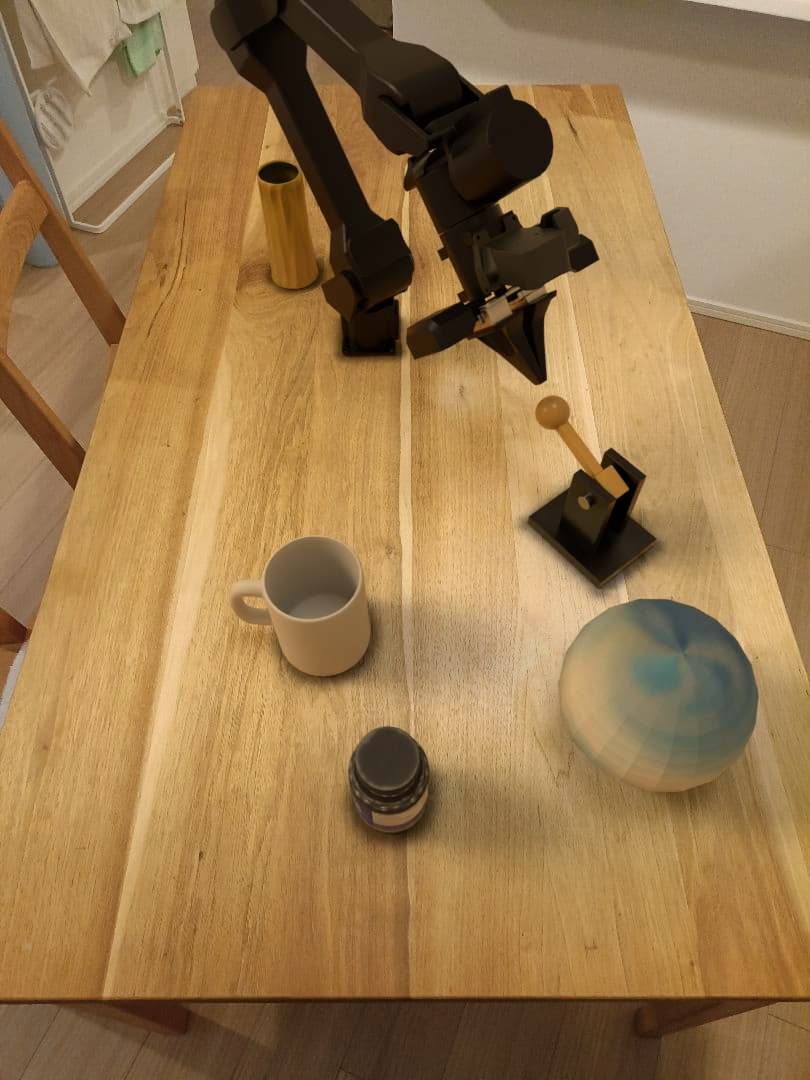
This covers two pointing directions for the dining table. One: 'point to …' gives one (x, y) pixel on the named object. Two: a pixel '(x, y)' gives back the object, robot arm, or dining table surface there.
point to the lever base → (596, 522)
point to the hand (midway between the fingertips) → (541, 383)
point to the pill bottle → (389, 779)
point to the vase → (287, 224)
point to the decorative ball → (658, 695)
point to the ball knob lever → (577, 443)
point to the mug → (311, 604)
